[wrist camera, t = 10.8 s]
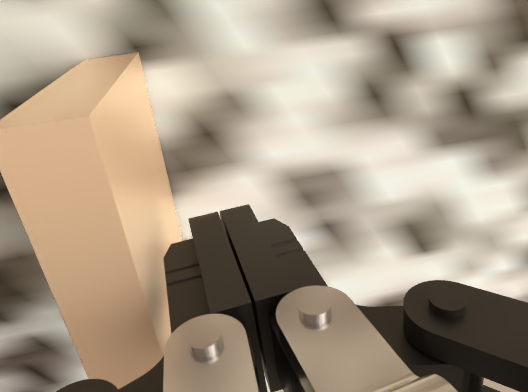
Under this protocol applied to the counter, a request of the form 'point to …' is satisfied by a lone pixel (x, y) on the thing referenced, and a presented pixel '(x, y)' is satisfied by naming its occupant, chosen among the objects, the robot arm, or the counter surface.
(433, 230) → the counter surface
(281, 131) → the counter surface
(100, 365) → the tile
